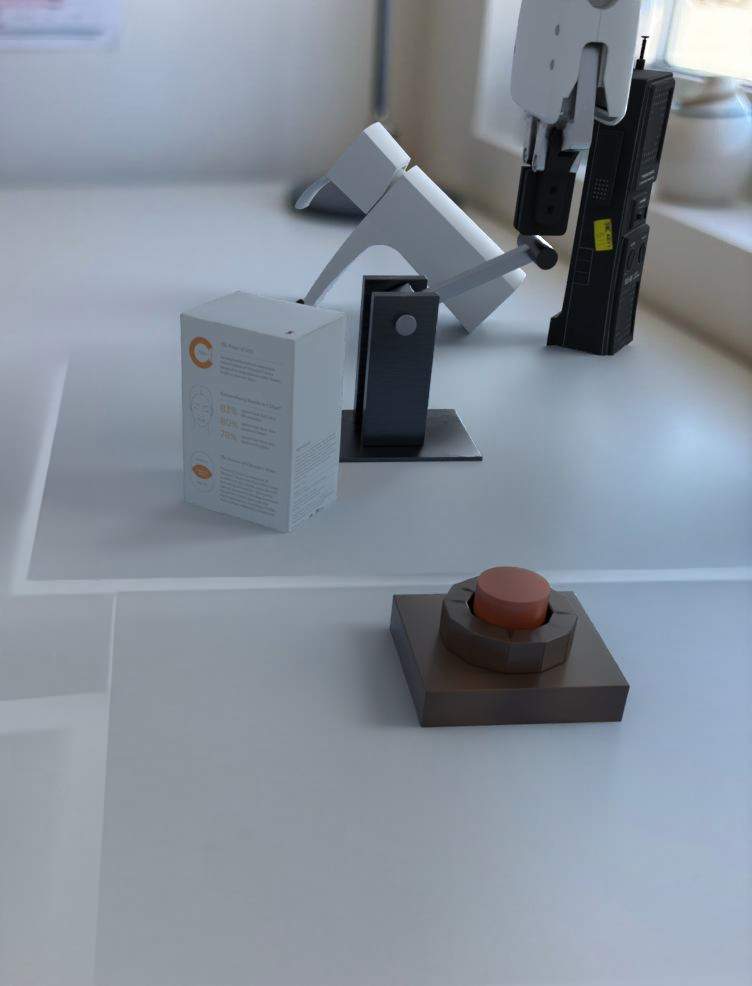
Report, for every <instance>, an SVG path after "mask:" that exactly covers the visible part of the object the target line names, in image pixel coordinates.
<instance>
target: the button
mask: <svg viewBox="0 0 752 986" xmlns="http://www.w3.org/2000/svg"><path fill="white" fill-rule="evenodd" d="M477 576H478V578H477V584H476V591H475V598H474V605H473V612H474V615H475V617H477V618H478V619H480V620H482V621H483V622H485V623H486V624H488V625H492V626H496V627H500V628H504V629H508V630H533V629H535V628H538V627H540V626H541V625H542V624H543V623H544V621H545V618H546V612H547V607H548V602H549V596H550V591H551V588H552V587H551V585H550V582H549V581H548V580H547V579H546V578H545V577H544V576H542V575H540V574H539V573H537V572H535V571H533V570H530V569H528V568H523V567H517V566H509V565H507V566H495V567H491V568H487V569H485V570H484V571H482V572H481V573H480V574H479V575H477Z"/></svg>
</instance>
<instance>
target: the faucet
mask: <svg viewBox="0 0 752 986" xmlns="http://www.w3.org/2000/svg"><path fill="white" fill-rule="evenodd" d="M411 159H412V158H411V157H410V156H409V154H407V152H406V151H405V150H404V149H403V147H401V145H400V144H399V143H398V142H397V141H396V139H395V138H394V137H393V136H392V134H390V132H388V130H387V129H386V128H385V127H384V126H383V124H382V123H381V122H380V121H377V122H374V123H372V124H370V125H369V126H368V127H366V128H365V129H363V130H362V131H361V132H360V133H359V135H358V136H357V137H355V139H354V141H353V142H352V143H351V144H350V145H349V146H348V147H347V148H346V150H345V151H344V152H343V153H342V155H341V156H340V157H339V158H338V159H337V160H336V161H335V163H334V164H333V166H332V167H331V168H330V169H329V170H328V171H327V173H326V174H325V175H323V176H321V177H320V178H318V179H317V180H316V181H314V182H313V183H312V184H310V185H309V186H308V187H307V188H306V189H305V190H304V191H303V193H302V194H301V195H300V196H299V198H298V199H297V201H296V202H295V205H294V208H295V210H303V209H305V208H307V207H309V206H310V204H311V202H312V200H313V199H314V197H315V196H316V195H317V194H318V192H319V191H320V190H321V189H322V188H323V187H325V186H326V185H327V184H328V183H330V182H332V183H333V184H334V185H335V186H336V187H337V188H338V189H339V190H340V191H341V192H342V193H343V194H344V195H345V196H347V198H348V199H349V200H350V201H351V202H353V204H355V205H356V206H357V207H358V208H359V209H360V210H361V212H363V213H364V214H365V217H364V218H363V219H362V220H361V221H360V222H359V223H358V225H357V226H356V227H355V228H354V230H352V232H351V233H350V234H349V236H348V237H347V238H346V239H345V241H343V243H342V244H341V245H340V247H339V248H338V249H337V251H336V252H335V253H334V255H332V258H331V259H330V260H329V262H328V263H327V264H326V266H325V267H324V268H323V270H322V271H321V273H320V274H319V275H318V277H317V279H316V280H315V281H314V283H313V285H312V286H311V288H310V289H309V291H308V292H307V293H306V296H305V297H304V298H303V299H302V300H303V301H304V304H305V305H309V306H313V307H317V305H319V304H320V303H321V302H322V301H323V300H324V299H325V298H326V296H327V295H328V294H329V293H330V291H331V290H332V288H333V287H334V286H335V285H336V283H337V282H338V281H339V280H340V278H341V277H342V276H343V274H344V273H345V272H346V271H347V270H348V269H349V268H350V267H351V265H353V263H355V261H356V260H358V258H359V257H361V255H362V254H364V252H366V251H367V250H368V249H369V248H371V247H373V246H374V247H375V246H385V247H389V248H392V250H393V249H394V250H395V251H397V252H398V254H400V256H401V257H403V259H404V260H405V261H406V262H407V263H408V265H410V267H411V268H412V269H413V270H414V271H415V273H416V274H417V275H425V276H426V278H427V279H428V283H427V287H428V288H429V287H431V286H433V285H435V284H438V283H440V282H442V281H444V280H446V279H449V278H451V277H453V276H455V275H458V274H460V273H462V272H464V271H466V270H469V269H471V268H473V267H475V266H477V265H480V264H482V263H484V262H486V261H488V260H491V259H493V258H495V257H497V256H500V255H502V254H504V253H505V252H504V250H502V248H500V247H499V245H497V243H496V242H494V240H493V239H491V238H490V236H488V234H486V233H485V232H484V231H483V230H482V228H481V227H479V226H478V225H477V224H476V222H475V221H473V219H471V218H470V217H469V215H467V214H466V213H465V211H463V209H461V208H460V206H458V205H457V204H456V203H455V202H454V201H453V200H452V199H451V198H450V197H449V196H448V195H447V194H446V193H445V192H444V191H443V190H442V189H441V188H440V187H439V186H438V185H437V184H436V183H435V182H434V181H433V180H432V179H431V178H430V177H429V176H428V175H427V173H425V172H424V171H423V170H422V169H421V168H420V167H419V166H418V165H414V166H412V167H411V168H410V169H408V170H407V171H406V169H407V167H408V166H409V164H410V161H411ZM526 276H527V273H526V272H524V270H522V269H521V267H520V268H518V269H516V270H513V271H511V272H509V273H507V274H504V275H502V276H500V277H498V278H496V279H493V280H491V281H489V282H487V283H484V284H482V285H480V286H478V287H475V288H473V289H471V290H469V291H467V292H464V293H462V294H460V295H458V296H455V297H453V298H451V299H449V300H447V301H444V302H442V304H444V306H445V307H446V308H447V309H448V310H449V312H450V313H451V314H452V315H453V316H454V317H455V319H457V321H458V322H459V323H460V324H461V326H463V327H464V328H465V330H466V331H467V332H468V333H469V334H471V333H472V332H473V331H475V329H477V328H478V327H479V326H480V325H481V324H482V323H483V322H484V321H485V320H486V319H487V318H488V317H489V316H491V314H492V313H494V312H495V311H496V310H497V309H498V308H499V307H500V306H501V305H502V304H503V303H504V302H505V301H506V300H508V298H509V297H511V295H512V294H513V293H515V292H516V291H517V289H519V287H520V286H521V284H522V282H523V281H524V280H525V278H526Z"/></svg>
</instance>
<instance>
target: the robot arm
mask: <svg viewBox="0 0 752 986" xmlns="http://www.w3.org/2000/svg"><path fill="white" fill-rule="evenodd" d="M642 5H643V0H521V1H520V9H519V14H518V19H517V20H518V21H517V27H516V33H515V40H514V46H513V57H512V63H511V73H510V74H511V75H510V88H509V89H510V96H511V99H512V101H513V102H514V103H515V104H516V105H517V106H518V107H519V108H520V109H522V110H523V118H522V119H523V121H524V124H525V125H524V136H523V145H522V154H521V155H522V156H521V161H522V165H521V168H520V174H519V181H518V187H517V194H516V201H515V207H514V214H513V215H514V216H513V222H512V226H513V228H514V229H515V230H516V231H517V232H518V233H519V234H522V235H526V236H540V237H545V236H546V237H563V236H564V235H565V234H566V233H567V230H568V225H569V219H570V213H571V207H572V203H573V195H574V191H575V190H574V189H575V184H576V177H577V173H578V171H579V169H580V164H581V160H582V155H583V151H587V150H588V151H589V148H590V146H591V141H592V132H593V124H594V119H595V120H597V121H599V122H601V123H604V124H606V125H616V124H617V123H619V122H620V121H621V120H622V118H623V117H624V115H625V113H626V108H627V103H628V97H629V90H630V84H631V77H632V71H633V68H634V64H635V63H634V62H635V56H636V50H637V42H638V34H639V27H640V20H641V12H642Z"/></svg>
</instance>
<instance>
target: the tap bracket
mask: <svg viewBox="0 0 752 986" xmlns="http://www.w3.org/2000/svg"><path fill="white" fill-rule="evenodd" d="M427 283H428V279H427V278H426V276H425V275H418V274H417V275H415V274H413V275H412V274H411V275H409V274H408V275H407V274H406V275H405V274H404V275H402V274H401V275H397V274H396V275H395V274H394V275H393V274H387V275H385V274H369V275H368V274H363V275H362V282H361V294H360V296H361V297H360V311H359V325H358V326H359V327H358V339H357V353H356V367H355V368H356V369H355V379H354V380H355V383H354V396H353V397H354V398H353V408H352V409H342V412H341V436H340V453H339V464H340V463H406V462H407V463H419V462H420V463H423V462H425V463H427V462H431V463H432V462H435V463H437V462H483V460H484V458H483V457H484V456H483V455H482V453H481V451H480V450H479V449H478V447H477V445H476V442H475V441H474V440H473V438H472V437H471V434H470V433H469V431H468V429H467V427H466V426H465V424H464V423H463V421H462V419H461V417H460V416H459V413H458V412H457V410H456V409H455V408H429V403H430V402H429V400H430V392H431V383H432V375H433V374H432V373H433V365H434V354H435V346H436V338H437V337H436V336H437V327H438V317H439V308H440V304H439V300H440V296H439V295H438V293H437V292H420V291H422V290H424V289H427V288H428V285H427ZM405 284H409V285H410V286H411V288H412V289H413V291H414V292H390V291H392V290H394V289H396V288H399V287H401V286H403V285H405Z"/></svg>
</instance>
